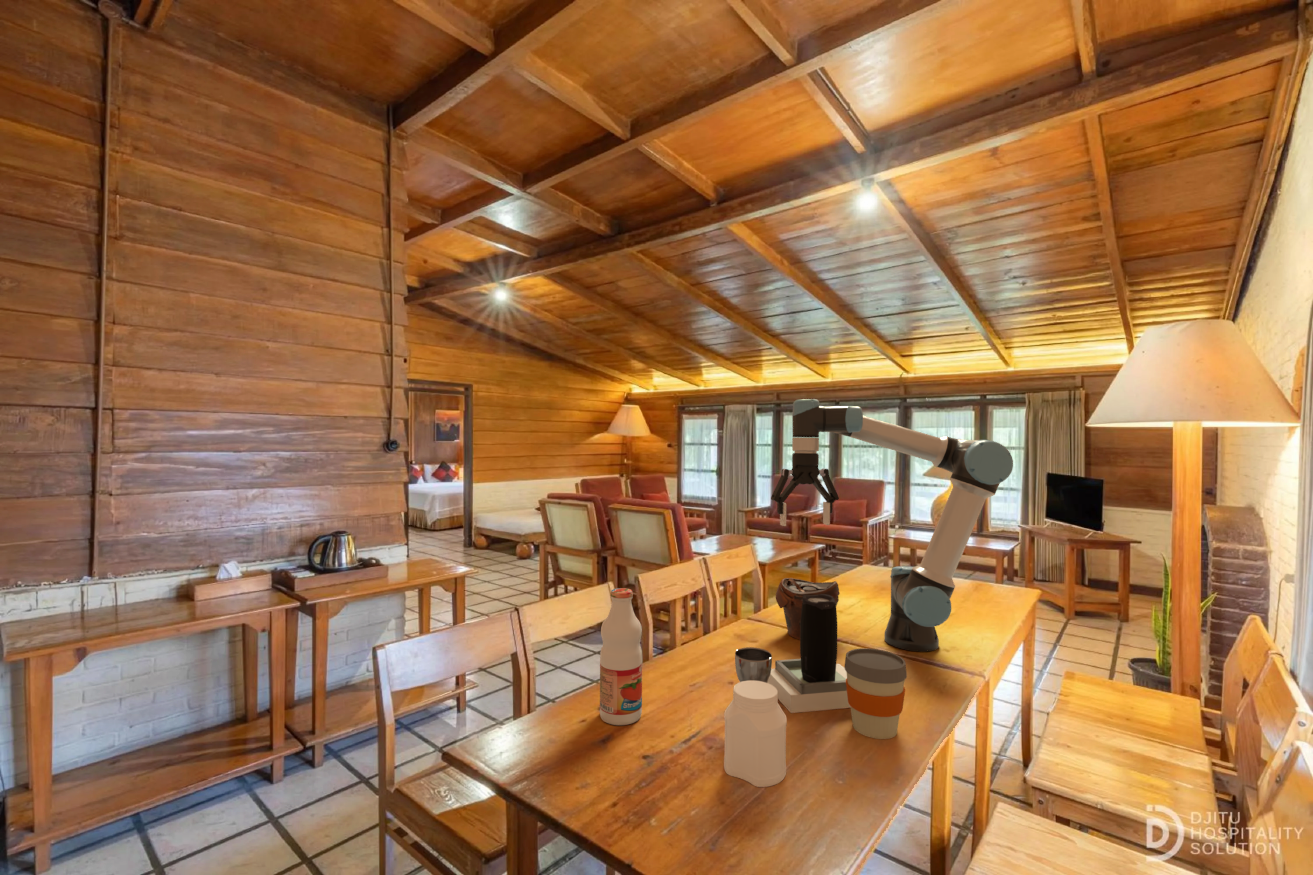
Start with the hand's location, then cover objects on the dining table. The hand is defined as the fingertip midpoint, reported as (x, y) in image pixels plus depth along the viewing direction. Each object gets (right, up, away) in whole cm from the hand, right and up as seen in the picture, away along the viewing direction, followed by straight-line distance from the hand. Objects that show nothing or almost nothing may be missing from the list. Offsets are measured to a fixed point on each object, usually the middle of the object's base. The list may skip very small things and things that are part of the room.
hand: (804, 525), depth 170 cm
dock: (-2, -37, -29) cm, 47 cm away
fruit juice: (-51, -37, -41) cm, 75 cm away
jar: (-25, -37, -61) cm, 75 cm away
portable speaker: (-4, -33, -30) cm, 45 cm away
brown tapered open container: (+4, -37, +13) cm, 39 cm away
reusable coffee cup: (+4, -37, -45) cm, 58 cm away
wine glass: (-22, -37, -43) cm, 61 cm away
